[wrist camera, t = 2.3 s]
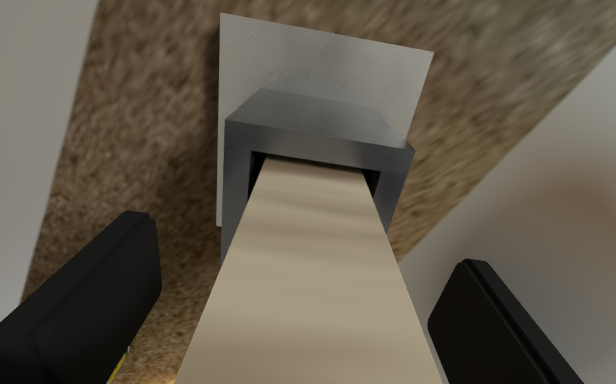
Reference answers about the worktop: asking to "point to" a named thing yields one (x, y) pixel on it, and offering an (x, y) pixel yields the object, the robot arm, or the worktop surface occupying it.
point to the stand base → (312, 109)
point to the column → (309, 290)
